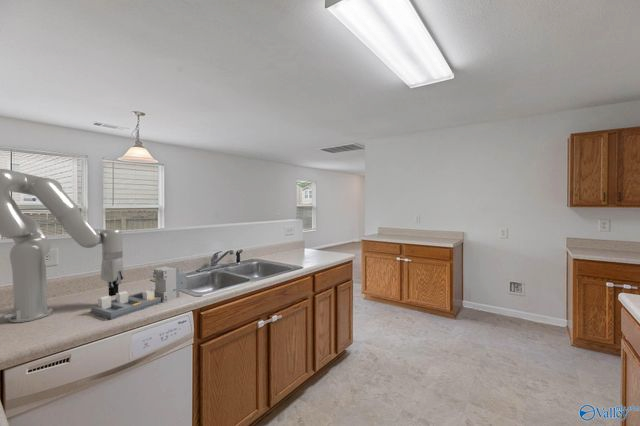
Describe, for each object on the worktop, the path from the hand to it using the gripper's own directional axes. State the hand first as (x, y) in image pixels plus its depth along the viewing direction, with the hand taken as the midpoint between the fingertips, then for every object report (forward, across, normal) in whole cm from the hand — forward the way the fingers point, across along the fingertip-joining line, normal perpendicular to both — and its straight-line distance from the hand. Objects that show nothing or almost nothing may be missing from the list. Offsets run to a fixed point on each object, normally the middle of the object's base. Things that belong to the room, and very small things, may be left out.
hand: (113, 295), depth 130 cm
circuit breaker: (+4, +15, +18) cm, 24 cm away
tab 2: (+2, +7, 0) cm, 7 cm away
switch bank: (+4, +11, 0) cm, 12 cm away
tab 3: (+3, +15, +7) cm, 17 cm away
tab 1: (+2, +7, -7) cm, 10 cm away
